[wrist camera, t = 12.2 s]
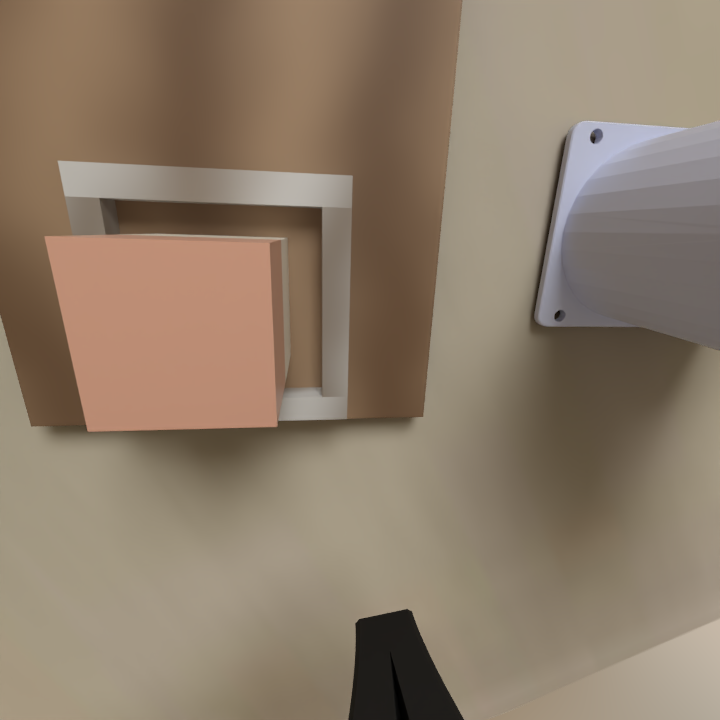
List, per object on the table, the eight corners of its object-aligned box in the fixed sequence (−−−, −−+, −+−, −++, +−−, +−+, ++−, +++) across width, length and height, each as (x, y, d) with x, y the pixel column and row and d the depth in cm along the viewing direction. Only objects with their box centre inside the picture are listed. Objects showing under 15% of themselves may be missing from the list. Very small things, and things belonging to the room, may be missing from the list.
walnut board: (485, -391, 10) (527, -544, 8) (416, 405, 18) (429, 427, 16) (-194, -551, 9) (-357, -802, 6) (51, 412, 16) (12, 439, 14)
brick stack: (287, 237, 14) (269, 242, 8) (290, 354, 15) (277, 426, 10) (158, 233, 13) (44, 236, 8) (173, 355, 15) (87, 431, 9)
